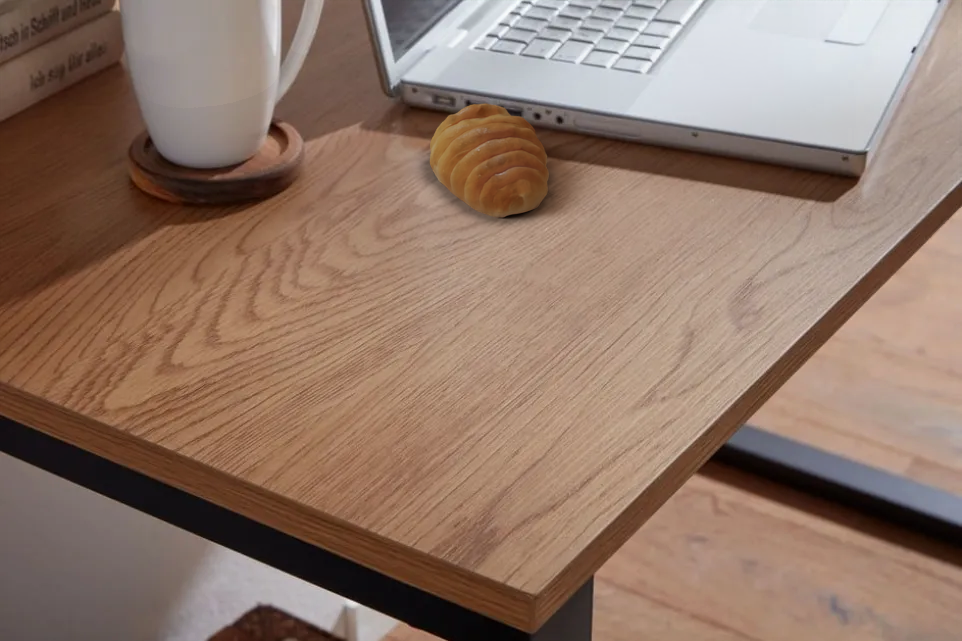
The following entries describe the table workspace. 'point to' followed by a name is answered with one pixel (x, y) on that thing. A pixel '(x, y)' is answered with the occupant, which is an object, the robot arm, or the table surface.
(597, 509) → the table surface
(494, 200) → the pastry
